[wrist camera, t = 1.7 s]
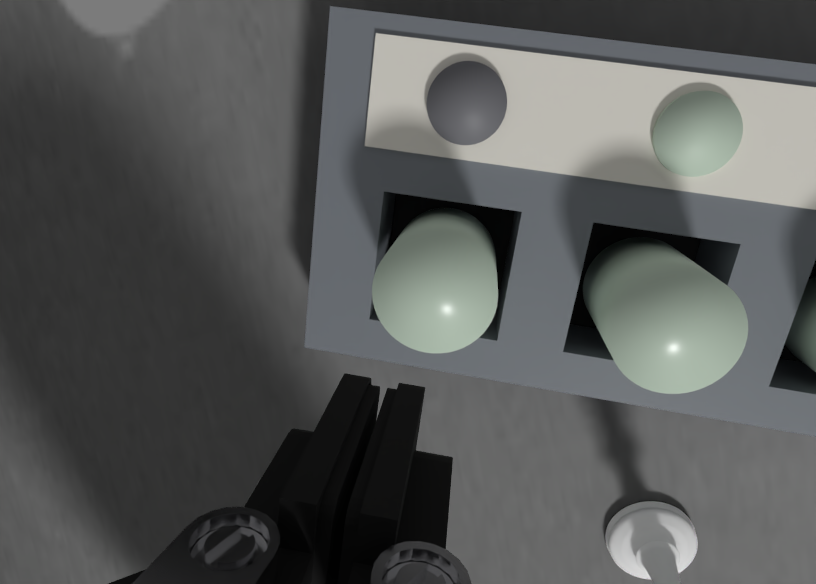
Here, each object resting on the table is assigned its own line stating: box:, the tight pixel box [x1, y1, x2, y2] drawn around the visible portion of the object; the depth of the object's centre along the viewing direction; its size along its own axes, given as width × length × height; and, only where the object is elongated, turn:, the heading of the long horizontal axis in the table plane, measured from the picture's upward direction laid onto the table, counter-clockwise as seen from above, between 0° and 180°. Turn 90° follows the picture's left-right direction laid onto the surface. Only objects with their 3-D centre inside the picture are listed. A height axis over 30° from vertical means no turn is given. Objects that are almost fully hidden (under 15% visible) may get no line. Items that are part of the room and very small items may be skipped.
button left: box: [372, 208, 498, 354], centre depth 24 cm, size 5×5×6 cm
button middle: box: [583, 237, 748, 394], centre depth 23 cm, size 5×5×6 cm
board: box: [304, 6, 816, 437], centre depth 25 cm, size 30×15×4 cm, turn 83°
